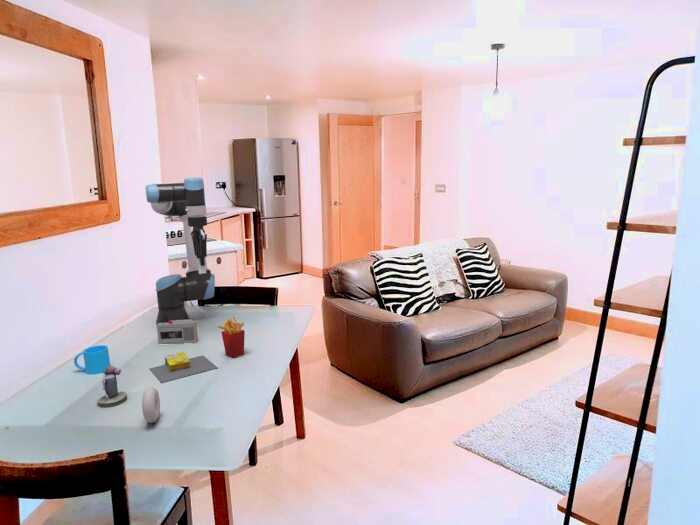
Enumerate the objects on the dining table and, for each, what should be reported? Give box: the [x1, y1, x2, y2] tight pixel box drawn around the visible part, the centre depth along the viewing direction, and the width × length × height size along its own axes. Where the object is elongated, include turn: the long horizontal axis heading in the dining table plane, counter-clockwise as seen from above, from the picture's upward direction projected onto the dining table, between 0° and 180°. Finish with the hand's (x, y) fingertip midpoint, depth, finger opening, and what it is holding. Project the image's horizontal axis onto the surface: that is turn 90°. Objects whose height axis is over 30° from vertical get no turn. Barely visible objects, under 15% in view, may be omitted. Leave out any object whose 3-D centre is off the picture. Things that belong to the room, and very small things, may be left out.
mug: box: [73, 344, 111, 375], centre depth 183 cm, size 12×8×8 cm
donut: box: [141, 386, 161, 424], centre depth 143 cm, size 10×3×10 cm, turn 11°
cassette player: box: [156, 318, 199, 345], centre depth 209 cm, size 16×3×10 cm, turn 93°
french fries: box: [217, 316, 246, 359], centre depth 192 cm, size 9×8×15 cm
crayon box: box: [164, 351, 190, 371], centre depth 184 cm, size 7×3×12 cm
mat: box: [149, 354, 218, 384], centre depth 182 cm, size 16×20×1 cm
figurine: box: [96, 365, 128, 409], centre depth 156 cm, size 8×8×12 cm
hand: (202, 273), depth 206 cm, fingers closed
